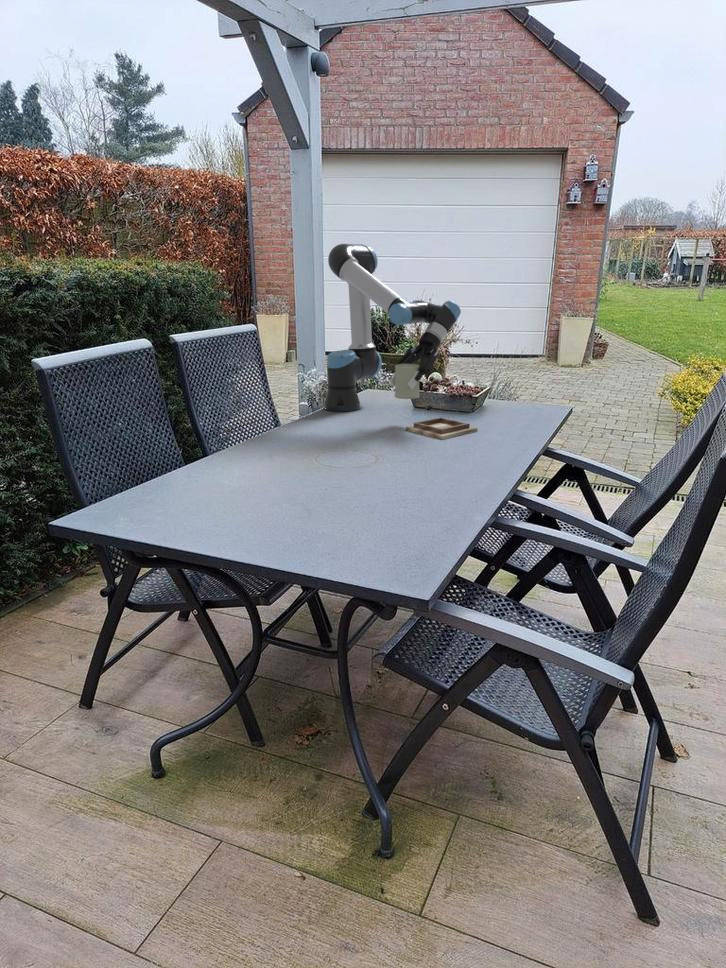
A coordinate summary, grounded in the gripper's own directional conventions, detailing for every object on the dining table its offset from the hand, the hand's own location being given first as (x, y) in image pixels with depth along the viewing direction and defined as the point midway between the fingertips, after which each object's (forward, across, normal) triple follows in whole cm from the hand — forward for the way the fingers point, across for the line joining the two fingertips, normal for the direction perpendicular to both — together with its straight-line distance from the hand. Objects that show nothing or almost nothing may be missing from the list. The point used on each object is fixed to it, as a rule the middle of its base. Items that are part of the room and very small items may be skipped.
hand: (400, 385), depth 233 cm
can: (+1, 0, -6) cm, 6 cm away
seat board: (+7, -17, -13) cm, 23 cm away
